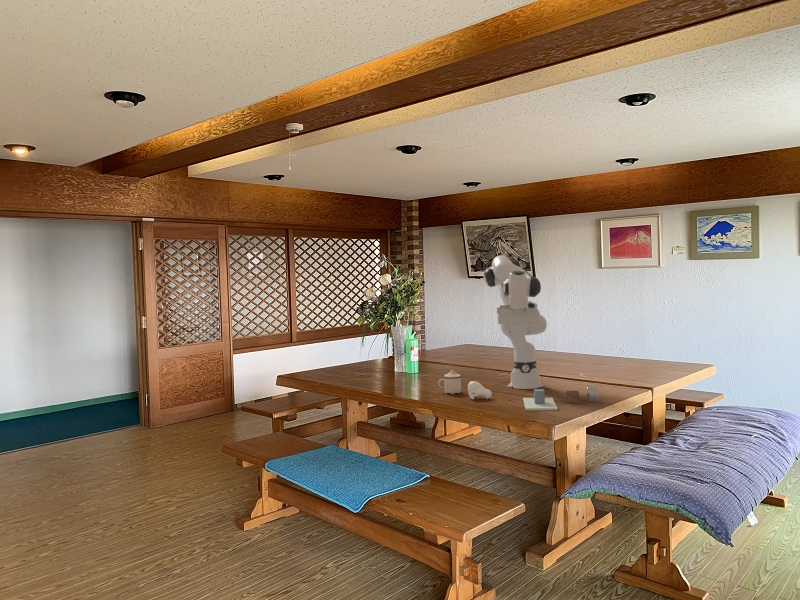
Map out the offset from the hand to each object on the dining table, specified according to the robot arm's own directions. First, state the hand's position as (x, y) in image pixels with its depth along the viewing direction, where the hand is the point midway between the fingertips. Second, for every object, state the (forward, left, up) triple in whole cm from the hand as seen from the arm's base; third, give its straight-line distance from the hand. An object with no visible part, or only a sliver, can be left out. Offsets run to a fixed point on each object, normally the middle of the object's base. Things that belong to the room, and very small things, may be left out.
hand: (519, 333), depth 288 cm
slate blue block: (+9, +8, -32) cm, 34 cm away
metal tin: (+2, +33, -33) cm, 47 cm away
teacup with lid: (-21, -36, -33) cm, 53 cm away
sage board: (+9, +8, -33) cm, 35 cm away
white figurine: (-6, -20, -33) cm, 39 cm away
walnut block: (+3, +24, -33) cm, 41 cm away
